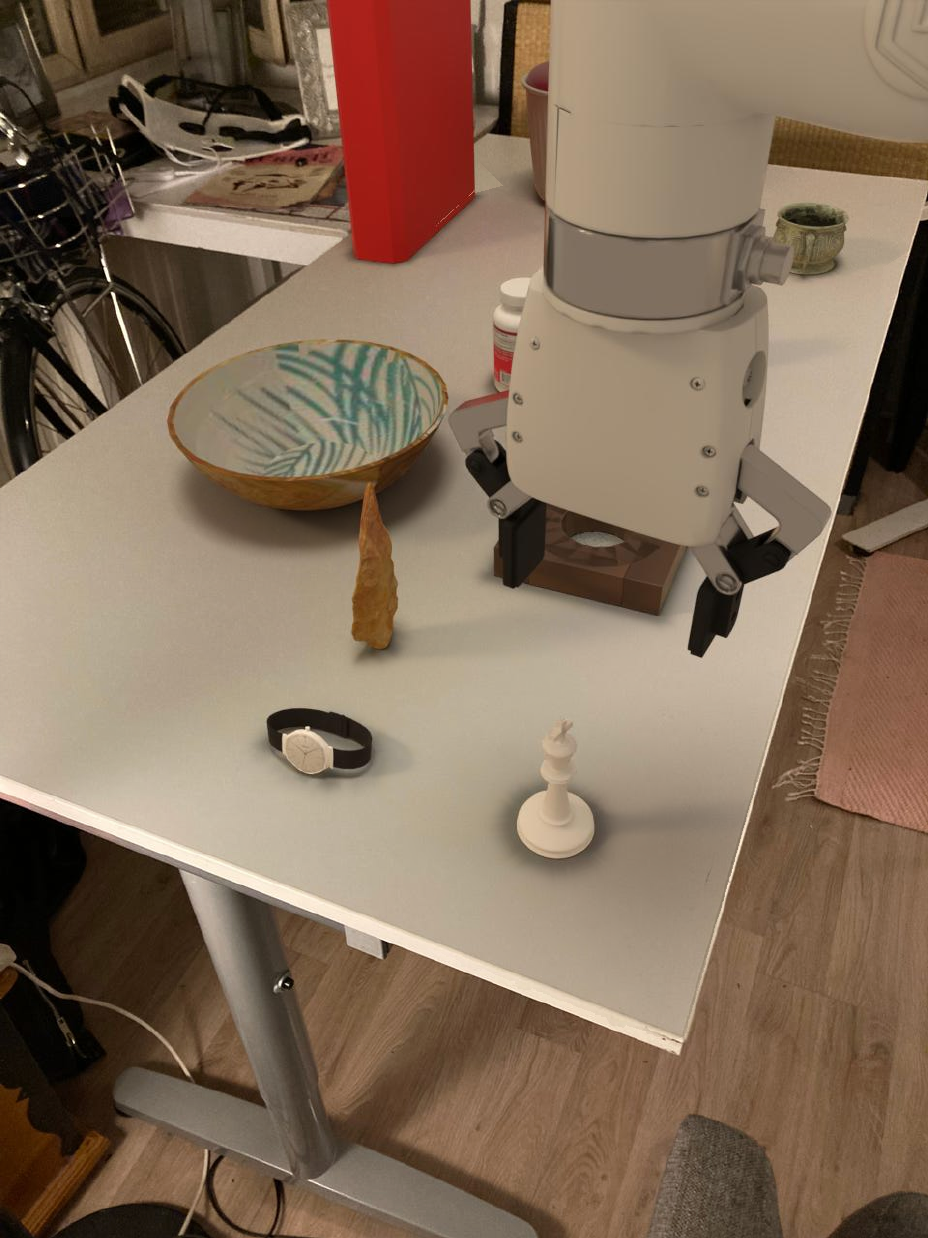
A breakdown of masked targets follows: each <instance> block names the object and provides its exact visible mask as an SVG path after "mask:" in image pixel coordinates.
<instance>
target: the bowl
mask: <svg viewBox="0 0 928 1238" xmlns="http://www.w3.org/2000/svg"><path fill="white" fill-rule="evenodd" d="M448 403H449V392H448V388H447V385H446V382H445V380H444V379H443V378H442V377H441V375H440V373H439V372H438V371H437V370H436V369H435V368H433V366H431V365H430V364H429V363H428V362H427V361H425V360H423V359H421V358H420V357H418V356H415V355H414V354H412V353H410V352H408V351H404V350H402V349H398V348H396V347H394V346H390V345H385V344H380V343H375V342H373V341H372V342H371V341H364V340H355V339H353V340H352V339H331V338H330V339H309V340H298V341H291V342H286V343H279V344H272V345H270V346H266V347H261V348H258V349H254V350H250V351H247V352H244V353H242V354H239V355H236V356H234V357H231V358H228V359H226V360H223V361H221V362H220V363H218V364H216V365H214V366H212V367H210V368H208V369H206V370H205V371H204V372H202V373H201V374H199V375H197V376H196V377H195V378H193V379H192V380H191V381H189V382H188V384H186V385H185V387H184V388H182V390H180V391H179V392H178V394H177V395H176V397H175V399H174V400H173V402H172V404H171V405H170V407H169V410H168V415H167V420H166V423H167V430H168V434H169V435H168V436H169V437H170V439H171V440H172V442H173V443H174V445H175V446H176V448H177V449H178V450H179V451H180V453H182V454H183V455H184V457H186V459H187V460H188V461H189V462H190V463H191V464H192V465H194V467H196V468H197V469H198V471H200V472H201V473H202V474H204V476H206V477H207V478H209V480H211V481H212V482H214V483H215V484H216V485H218V486H220V487H221V488H223V489H224V490H227V491H228V492H230V493H232V494H233V495H236V496H238V497H240V498H243V499H245V500H247V501H249V502H251V503H255V504H258V505H261V506H265V507H267V508H272V509H273V508H274V509H279V510H280V509H281V510H287V511H318V510H319V511H320V510H328V509H333V508H338V507H343V506H347V505H350V504H353V503H356V502H359V501H361V500H364V494H365V490H366V486H367V485H368V483H369V482H370V483H371V484H372V487H373V488H374V489H375V494H377V493H379V492H382V491H383V490H384V489H386V488H387V487H389V486H390V485H392V484H393V483H394V482H395V481H397V480H398V479H399V478H401V477H402V476H403V475H404V474H405V473H406V472H407V471H408V470H409V469H410V468H411V467H412V466H413V465H414V464H415V463H417V461H418V460H419V458H420V457H421V456H422V455H423V453H424V452H425V451H426V450H427V448H428V446H429V444H430V442H432V439H433V438H434V436H435V434H436V432H437V430H438V429H439V427H440V425H441V423H442V421H443V419H444V417H445V415H446V412H447V407H448Z"/></svg>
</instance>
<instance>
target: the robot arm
mask: <svg viewBox="0 0 928 1238" xmlns="http://www.w3.org/2000/svg"><path fill="white" fill-rule="evenodd" d="M549 18H550V19H549V21H550V23H549V53H548V55H549V57H548V61H549V88H548V124H547V160H546V196H545V197H546V200H545V201H544V229H543V230H544V233H543V234H544V235H543V264H542V265H541V266H540V268H539V269H537V270H536V271H535V272H533V275H532V276H531V277H530V278H531V279H530V283H529V287H528V290H527V294H526V298H525V302H524V306H523V310H522V315H521V319H520V324H519V328H518V333H517V338H516V344H515V350H514V356H513V362H512V370H511V379H510V386H509V390H507V391H503V392H499V391H498V392H495V393H492V394H488V395H484V396H480V397H477V398H476V397H475V398H472V399H468V400H466V401H463V402H462V403H460V405H459V406H457V407H456V408H455V409H454V410H453V411H452V412H450V413H449V415H448V417H447V421H448V425H449V427H450V429H451V431H452V433H453V436H454V437H455V440H456V442H457V444H458V446H459V448H460V450H461V452H462V453H464V454H465V456H466V457H465V460H464V465H465V468H466V470H467V472H468V473H469V474H470V475H471V477H472V478H473V480H475V482H476V483H477V484H478V485H479V487H480V488H481V489H482V491H483V492H484V493H485V495H486V496H487V497H488V499H487V501H486V507H487V509H488V512H489V513H490V514H491V515H492V516H493V517H495V518H497V519H498V521H497V522H498V540H499V557H500V558H501V559H503V578H502V585H503V586H505V587H508V588H510V589H513V590H514V589H516V588H520V587H521V585H522V584H524V583H523V582H524V581H525V579H526V578H527V577H528V576H529V575H530V574H531V573H532V571H533V570H534V569H535V568H536V567H537V566H538V565H539V563H540V562H541V561H542V560H543V558H544V555H545V535H546V507H547V503H548V504H551V505H554V506H557V507H560V508H563V509H566V510H569V511H572V512H575V513H578V514H581V515H584V516H587V517H590V518H593V519H596V520H599V521H602V522H606V523H609V524H612V525H615V526H618V527H621V528H625V529H628V530H631V531H634V532H637V533H641V534H644V535H647V536H650V537H654V538H657V539H660V540H664V541H667V542H671V543H674V544H678V545H684V546H687V548H689V549H690V552H691V553H692V554H693V556H694V557H695V559H696V561H697V562H698V564H699V566H700V567H701V568H702V570H703V572H704V573H705V575H706V576H705V578H704V579H703V581H702V582H701V584H700V585H699V587H698V590H697V592H696V597H695V602H694V603H695V604H694V609H693V614H692V620H691V625H690V632H689V638H688V643H687V651H690V655H692V656H695V657H697V658H699V659H702V658H704V656H705V654H706V653H707V651H708V649H710V648H709V647H710V646H711V644H712V643H713V641H714V640H715V638H716V636H718V637H721V638H724V639H727V638H728V637H729V636H730V634H731V632H732V631H733V628H734V627H735V624H736V622H737V619H738V615H739V611H740V606H741V602H742V599H743V598H742V597H743V593H744V589H745V585H747V584H749V583H752V582H754V581H757V580H760V579H763V578H765V577H768V576H770V575H772V574H774V573H777V572H780V571H782V570H784V568H785V567H786V565H787V564H788V563H789V562H790V561H791V560H792V559H794V557H796V556H798V555H799V554H800V553H802V552H803V550H805V548H807V547H808V546H809V545H811V543H812V542H814V541H815V540H816V539H817V538H818V537H819V536H820V535H821V534H822V533H823V531H824V529H825V527H826V526H827V524H828V522H829V520H830V518H831V517H832V508H831V507H830V506H829V504H828V503H827V502H826V501H824V500H823V499H822V498H821V497H819V496H818V495H817V494H815V493H814V491H812V490H811V489H810V488H808V487H807V486H805V485H804V484H803V483H801V482H800V481H799V480H798V479H797V478H796V477H794V476H793V475H792V474H790V473H789V471H787V470H786V469H784V468H783V467H782V466H781V465H779V464H778V463H776V461H774V460H773V459H772V458H771V457H769V456H768V455H767V454H766V453H764V451H762V450H761V449H760V447H761V440H762V439H761V438H762V432H763V422H764V413H765V405H766V394H767V382H768V367H769V366H768V365H769V349H770V348H769V345H770V344H769V343H770V336H769V335H770V331H769V327H770V325H769V305H768V304H769V303H768V296H767V294H766V292H765V290H763V288H761V287H759V286H762V285H763V284H764V283H766V284H773V285H778V286H783V285H784V284H785V283H786V281H787V280H788V278H789V275H790V273H791V272H790V269H791V266H792V262H793V258H794V246H793V245H788V244H782V243H777V242H775V240H774V238H773V236H767V235H766V226H765V225H764V220H765V214H766V209H765V208H761V206H762V205H761V204H762V199H763V194H764V188H765V182H766V176H767V170H768V164H769V158H770V153H771V147H772V140H773V136H774V130H775V124H776V118H777V117H778V118H782V119H787V120H793V121H796V122H801V123H805V124H809V125H813V126H817V127H820V128H824V129H829V130H833V131H837V132H842V133H846V134H851V135H854V136H860V137H865V138H870V139H874V140H880V141H888V142H894V143H895V142H896V143H908V144H909V143H913V144H914V143H915V144H917V143H920V144H921V143H924V144H925V143H928V0H550V17H549ZM763 225H764V226H763ZM503 427H506V429H505V433H506V434H505V448H504V446H503V445H502V444H501V443H500V442H499V441H498V440H496V439H495V438H494V437H495V434H494V432H493V430H495V429H499V428H503ZM748 498H749V499H751V500H752V501H753V502H755V503H756V504H757V505H758V506H759V507H760V508H761V509H763V510H764V511H765V512H766V513H768V514H769V515H771V516H772V517H773V518H774V519H775V520H776V521H777V523H778V526H776V527H774V528H771V529H769V530H766V531H765V532H762V533H760V534H757V535H754V534H753V532H752V531H751V529H750V527H749V525H748V524H747V522H746V521H745V519H744V517H743V515H742V514H741V513H740V511H739V509H738V508H737V506H736V505H735V503H737V504H739V505H740V504H741V505H744V503H745V502H746V500H747V499H748Z"/></svg>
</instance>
